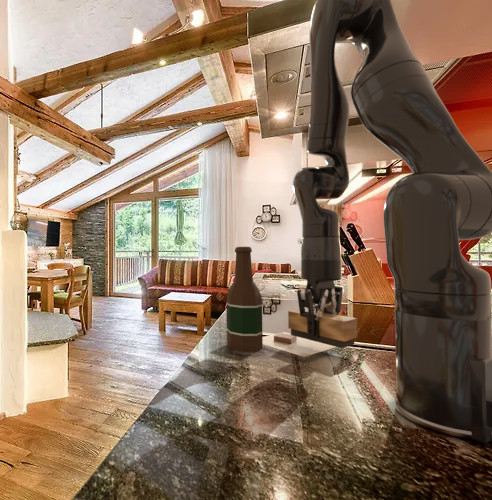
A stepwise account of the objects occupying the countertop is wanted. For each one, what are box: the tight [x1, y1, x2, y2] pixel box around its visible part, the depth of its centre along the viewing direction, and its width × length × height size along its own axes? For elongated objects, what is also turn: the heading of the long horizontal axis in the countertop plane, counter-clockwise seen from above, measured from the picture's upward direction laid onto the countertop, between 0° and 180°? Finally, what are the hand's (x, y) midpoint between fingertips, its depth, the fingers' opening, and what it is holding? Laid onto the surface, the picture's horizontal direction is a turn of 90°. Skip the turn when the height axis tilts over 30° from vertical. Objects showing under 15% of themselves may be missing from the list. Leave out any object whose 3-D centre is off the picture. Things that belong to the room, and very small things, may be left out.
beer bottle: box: [226, 246, 264, 353], centre depth 69 cm, size 8×8×24 cm
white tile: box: [262, 331, 337, 358], centre depth 71 cm, size 14×14×1 cm
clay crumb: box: [274, 332, 297, 344], centre depth 73 cm, size 4×4×1 cm
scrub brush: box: [287, 308, 358, 349], centre depth 66 cm, size 12×5×6 cm, turn 30°
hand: (321, 334), depth 66 cm, fingers closed on scrub brush, 5 cm apart
